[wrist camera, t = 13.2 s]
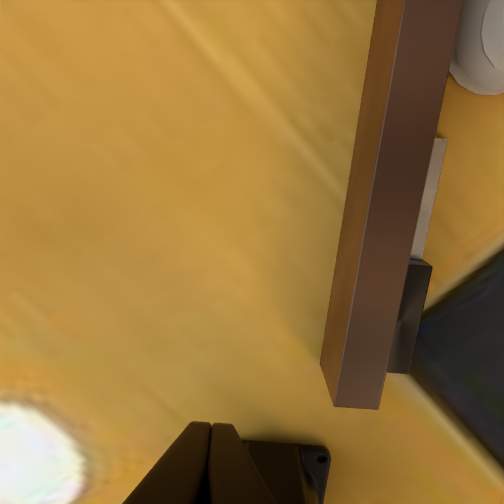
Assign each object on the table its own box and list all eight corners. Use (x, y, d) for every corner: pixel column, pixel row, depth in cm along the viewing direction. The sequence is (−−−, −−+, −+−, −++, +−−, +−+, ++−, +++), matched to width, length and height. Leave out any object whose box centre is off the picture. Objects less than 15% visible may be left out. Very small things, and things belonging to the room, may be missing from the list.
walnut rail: (358, 367, 22) (379, 410, 18) (319, 364, 22) (333, 407, 18) (444, -96, 16) (496, -155, 13) (392, -103, 16) (432, -163, 13)
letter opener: (400, 361, 22) (409, 374, 21) (365, 358, 22) (372, 372, 21) (448, 139, 19) (461, 139, 18) (408, 135, 19) (419, 135, 18)
